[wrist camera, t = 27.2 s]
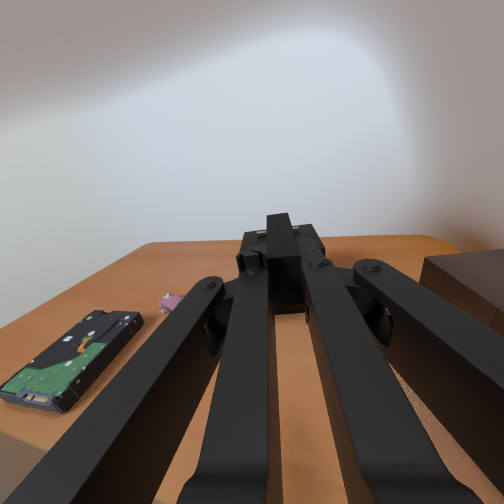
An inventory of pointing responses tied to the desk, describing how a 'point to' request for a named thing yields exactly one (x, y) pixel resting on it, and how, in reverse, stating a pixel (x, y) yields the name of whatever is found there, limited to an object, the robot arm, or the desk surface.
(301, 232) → the dark button box
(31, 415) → the desk surface
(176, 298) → the video game controller
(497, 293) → the box
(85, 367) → the disk drive
